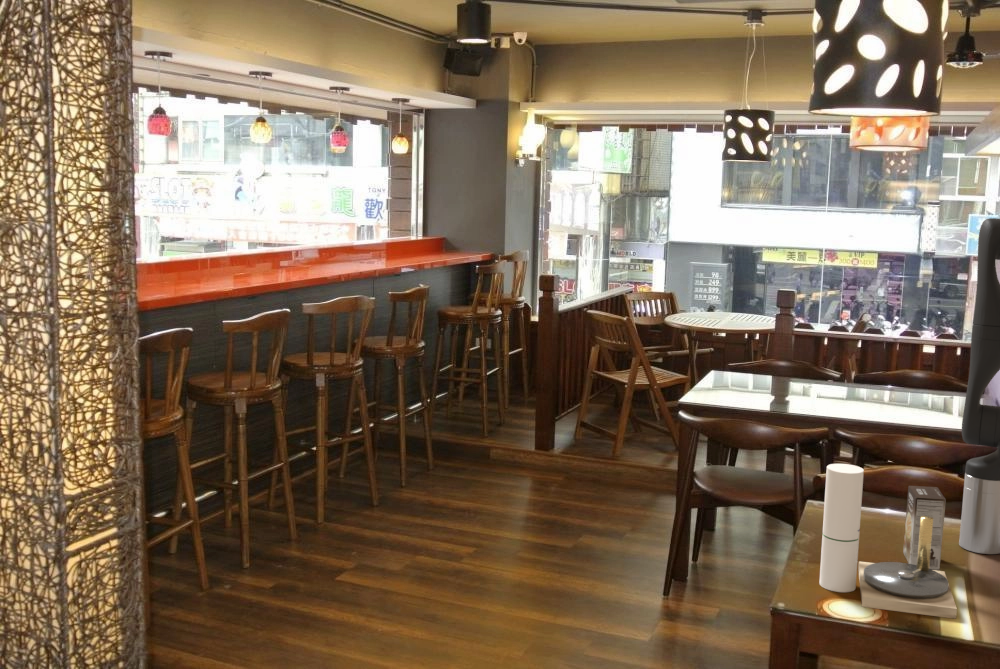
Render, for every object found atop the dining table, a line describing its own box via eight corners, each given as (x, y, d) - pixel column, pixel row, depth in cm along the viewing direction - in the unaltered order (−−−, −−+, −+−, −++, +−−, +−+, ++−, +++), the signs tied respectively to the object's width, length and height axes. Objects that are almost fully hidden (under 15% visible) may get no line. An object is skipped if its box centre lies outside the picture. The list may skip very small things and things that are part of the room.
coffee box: (902, 553, 228) (907, 484, 225) (932, 555, 226) (937, 486, 224) (909, 568, 219) (915, 496, 216) (941, 570, 217) (947, 499, 215)
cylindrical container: (858, 583, 210) (866, 467, 206) (851, 595, 204) (859, 475, 200) (823, 576, 213) (831, 461, 210) (815, 587, 207) (823, 469, 204)
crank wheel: (923, 605, 194) (927, 544, 192) (848, 579, 206) (851, 522, 204) (963, 584, 204) (968, 526, 202) (889, 561, 216) (893, 506, 214)
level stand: (858, 570, 217) (859, 559, 217) (943, 580, 212) (944, 569, 212) (862, 606, 198) (862, 595, 198) (956, 618, 193) (956, 607, 193)
